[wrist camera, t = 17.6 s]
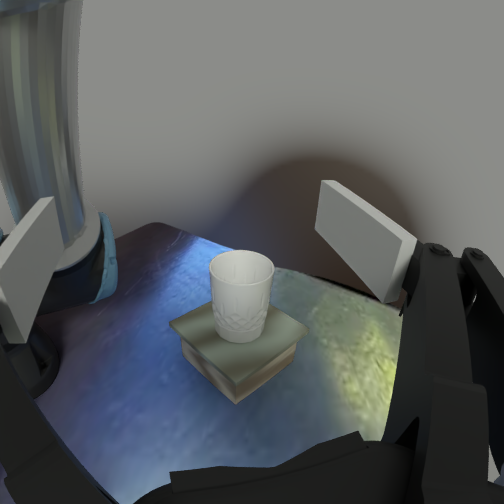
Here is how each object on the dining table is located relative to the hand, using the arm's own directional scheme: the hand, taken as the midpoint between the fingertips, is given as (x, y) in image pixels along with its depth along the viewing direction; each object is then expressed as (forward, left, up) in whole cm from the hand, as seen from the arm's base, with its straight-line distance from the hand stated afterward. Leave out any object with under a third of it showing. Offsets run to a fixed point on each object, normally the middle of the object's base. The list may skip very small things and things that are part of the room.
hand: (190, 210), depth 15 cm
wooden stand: (-12, +15, -32) cm, 38 cm away
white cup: (-12, +15, -25) cm, 32 cm away
